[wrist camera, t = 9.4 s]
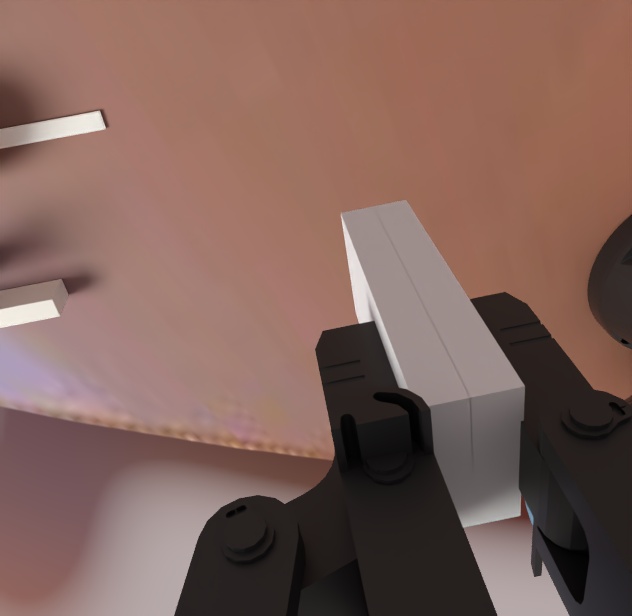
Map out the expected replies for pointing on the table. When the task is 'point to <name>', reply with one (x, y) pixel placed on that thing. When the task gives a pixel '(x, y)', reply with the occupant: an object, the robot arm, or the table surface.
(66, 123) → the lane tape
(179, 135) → the table surface
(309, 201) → the table surface
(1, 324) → the lane rail
